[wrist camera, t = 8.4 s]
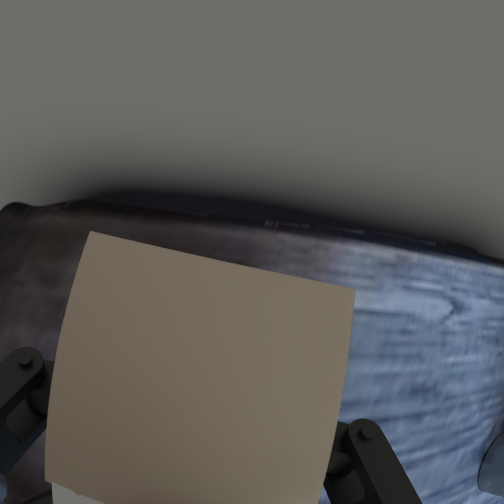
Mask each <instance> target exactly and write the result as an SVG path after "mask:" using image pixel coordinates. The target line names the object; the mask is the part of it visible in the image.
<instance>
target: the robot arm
mask: <svg viewBox="0 0 504 504" xmlns="http://www.w3.org/2000/svg"><path fill="white" fill-rule="evenodd" d="M54 364H55V361H46V360H43V357H42V355H41V353H40V352H39V351H38V350H36V349H34V348H31V347H22V348H19V349H17V350H15V351H14V352H13V353H11V354H10V355H9V356H8V357H7V358H6V359H4V360H3V361H2V362H1V363H0V504H3V498H4V497H5V496H6V495H7V482H6V479H5V476H6V475H7V473H8V472H9V471H10V470H11V469H12V467H13V466H14V465H15V464H16V463H17V462H18V460H19V459H20V458H21V457H22V456H23V454H24V453H25V452H26V451H27V450H28V449H29V447H30V446H31V445H32V444H33V443H34V442H35V440H36V439H37V438H38V437H39V436H40V435H41V434H42V432H43V431H44V430H45V429H46V428H47V417H48V407H49V398H50V390H51V383H52V376H53V370H54ZM323 485H324V487H325V490H326V492H327V495H328V497H329V500H330V502H331V504H422V502H421V500H420V499H419V497H418V495H417V493H416V491H415V489H414V487H413V486H412V484H411V482H410V480H409V478H408V476H407V475H406V473H405V471H404V469H403V467H402V466H401V464H400V462H399V460H398V458H397V457H396V455H395V453H394V451H393V449H392V448H391V446H390V444H389V442H388V440H387V439H386V437H385V435H384V433H383V432H382V430H381V428H380V427H379V426H378V425H377V424H376V423H375V422H373V421H371V420H368V419H357V420H355V421H353V422H352V423H351V424H350V425H349V424H346V423H343V422H339V421H338V422H337V427H336V432H335V436H334V441H333V446H332V450H331V454H330V459H329V463H328V467H327V471H326V475H325V479H324V483H323ZM478 486H479V489H480V490H481V491H483V492H487V493H490V494H494V495H498V496H502V497H504V433H503V434H501V435H500V436H499V437H498V438H497V439H496V440H495V441H494V443H493V444H492V446H491V447H490V449H489V451H488V452H487V454H486V456H485V458H484V461H483V463H482V466H481V469H480V473H479V478H478ZM21 504H105V503H102V502H99V501H96V500H94V499H91V498H88V497H86V496H83V495H77V494H76V493H75V492H74V491H72V490H69V489H67V488H65V487H63V486H60V485H58V484H56V483H54V482H52V489H51V490H49V491H47V492H45V493H43V494H40V495H38V496H36V497H34V498H32V499H30V500H27V501H25V502H23V503H21Z"/></svg>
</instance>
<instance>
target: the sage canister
mask: <svg viewBox="0 0 504 504" xmlns="http://www.w3.org/2000/svg"><path fill="white" fill-rule="evenodd" d="M354 297H355V289H353V288H348V287H343V286H338V285H333V284H328V283H324V282H319V281H314V280H309V279H304V278H299V277H295V276H290V275H285V274H280V273H276V272H271V271H266V270H261V269H257V268H252V267H247V266H243V265H238V264H234V263H229V262H224V261H220V260H215V259H211V258H206V257H202V256H197V255H193V254H188V253H184V252H179V251H175V250H170V249H166V248H161V247H157V246H153V245H148V244H144V243H140V242H135V241H131V240H127V239H122V238H118V237H114V236H109V235H105V234H101V233H97V232H92V231H90V233H89V236H88V239H87V242H86V245H85V247H84V250H83V253H82V256H81V260H80V263H79V266H78V269H77V272H76V276H75V279H74V282H73V286H72V289H71V293H70V297H69V300H68V304H67V308H66V312H65V316H64V320H63V324H62V329H61V333H60V338H59V343H58V348H57V353H56V358H55V364H54V370H53V376H52V383H51V390H50V398H49V407H48V417H47V429H46V446H45V481H47V482H49V483H51V484H52V482H54V483H56V484H58V485H60V486H63V487H65V488H67V489H69V490H72V491H74V492H75V493H76V494H77V495H83V496H86V497H88V498H91V499H94V500H96V501H99V502H102V503H105V504H318V501H319V497H320V494H321V490H322V487H323V483H324V479H325V475H326V471H327V467H328V463H329V459H330V454H331V450H332V446H333V441H334V436H335V432H336V427H337V422H338V416H339V411H340V406H341V400H342V394H343V388H344V382H345V375H346V368H347V361H348V354H349V346H350V338H351V329H352V319H353V309H354Z"/></svg>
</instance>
